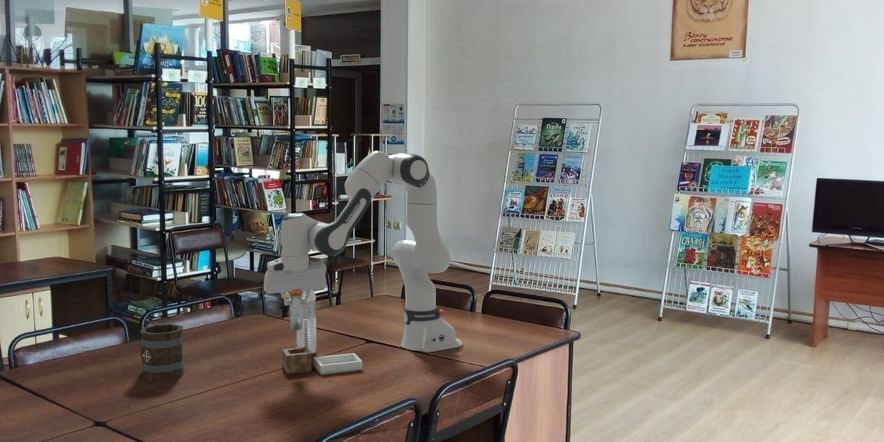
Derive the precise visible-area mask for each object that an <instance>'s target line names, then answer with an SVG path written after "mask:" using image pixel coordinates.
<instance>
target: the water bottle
mask: <svg viewBox="0 0 884 442" xmlns="http://www.w3.org/2000/svg"><path fill="white" fill-rule="evenodd" d="M305 295H306V293H305V291H303V293H302V298H304V297H305ZM316 297H317V296H316V293H315V292H314V290H310V295H309V297H308V299H307V304H302V329H301V330H296V348H300V347H306V348H307V349H308V350H309V351H310V353H311V356H312V355H315V354H316V352H317V317H316V315H317V313H316Z"/></svg>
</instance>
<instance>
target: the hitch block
mask: <svg viewBox="0 0 884 442" xmlns="http://www.w3.org/2000/svg"><path fill="white" fill-rule="evenodd" d="M281 357H282V359H281V360H282V361H281V362H282V363H281V364H282V366H281V367H282V368H283V370H284V372H285V373H286V374H287V375H288V374H297V373H306V372H311V371H312V355H311V353H310V351H309V350H308V349H307V348H306V347H300V348H297V347H291V348H283V349H281Z"/></svg>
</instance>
